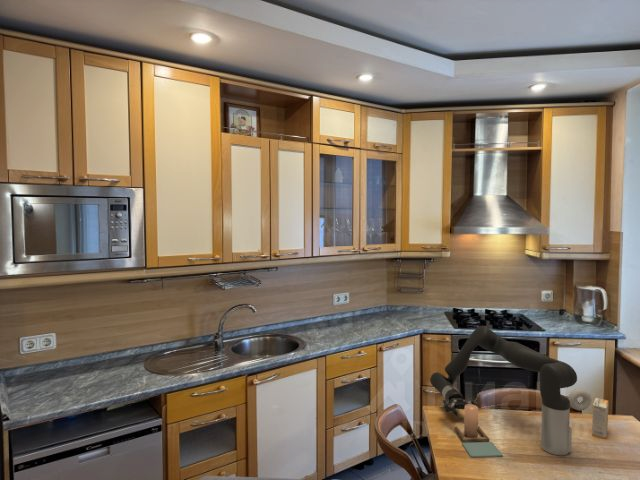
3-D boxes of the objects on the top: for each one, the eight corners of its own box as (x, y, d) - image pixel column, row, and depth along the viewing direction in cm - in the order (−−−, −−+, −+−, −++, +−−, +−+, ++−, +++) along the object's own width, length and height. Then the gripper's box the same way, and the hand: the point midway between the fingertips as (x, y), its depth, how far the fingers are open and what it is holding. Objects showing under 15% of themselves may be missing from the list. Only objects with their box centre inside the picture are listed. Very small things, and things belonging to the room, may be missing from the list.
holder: (478, 429, 175) (478, 426, 175) (489, 442, 165) (489, 438, 165) (454, 430, 174) (454, 426, 174) (463, 443, 165) (463, 439, 164)
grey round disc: (570, 412, 190) (571, 390, 189) (566, 408, 193) (566, 387, 192) (592, 412, 189) (593, 390, 189) (588, 408, 193) (588, 387, 192)
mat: (492, 443, 164) (492, 441, 164) (503, 456, 155) (503, 455, 155) (461, 444, 164) (461, 442, 164) (471, 457, 155) (471, 456, 155)
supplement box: (593, 427, 176) (595, 397, 175) (607, 431, 173) (608, 400, 172) (591, 435, 169) (592, 404, 169) (605, 439, 166) (606, 407, 165)
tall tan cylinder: (474, 432, 173) (475, 403, 172) (479, 439, 167) (480, 409, 167) (462, 432, 172) (462, 404, 172) (467, 439, 167) (467, 410, 167)
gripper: (437, 389, 190) (449, 405, 174) (468, 388, 190) (483, 404, 174) (437, 405, 190) (449, 422, 174) (468, 404, 191) (483, 421, 175)
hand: (466, 413), depth 174 cm, fingers open, 8 cm apart
